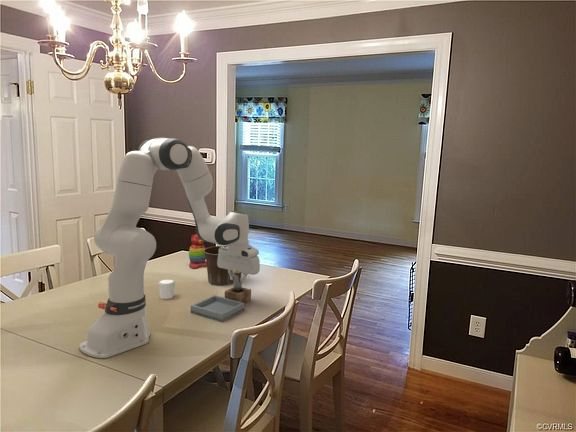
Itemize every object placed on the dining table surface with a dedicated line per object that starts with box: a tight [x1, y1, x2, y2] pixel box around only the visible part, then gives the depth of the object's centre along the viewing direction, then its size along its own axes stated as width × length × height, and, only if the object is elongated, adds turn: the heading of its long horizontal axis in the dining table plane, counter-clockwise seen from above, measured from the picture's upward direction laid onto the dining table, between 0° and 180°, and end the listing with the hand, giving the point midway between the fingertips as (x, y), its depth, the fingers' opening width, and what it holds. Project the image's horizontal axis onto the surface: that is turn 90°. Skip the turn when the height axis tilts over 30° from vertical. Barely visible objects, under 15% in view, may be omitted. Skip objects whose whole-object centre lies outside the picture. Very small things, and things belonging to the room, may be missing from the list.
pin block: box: [224, 286, 252, 304], centre depth 175 cm, size 8×8×5 cm
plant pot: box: [204, 245, 234, 286], centre depth 199 cm, size 16×16×16 cm
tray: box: [190, 294, 246, 323], centre depth 164 cm, size 14×16×3 cm
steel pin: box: [232, 270, 243, 293], centre depth 174 cm, size 5×5×13 cm
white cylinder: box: [157, 278, 175, 300], centre depth 178 cm, size 7×7×7 cm
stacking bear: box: [188, 234, 207, 270], centre depth 225 cm, size 11×10×18 cm
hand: (237, 280), depth 173 cm, fingers closed on steel pin, 4 cm apart
